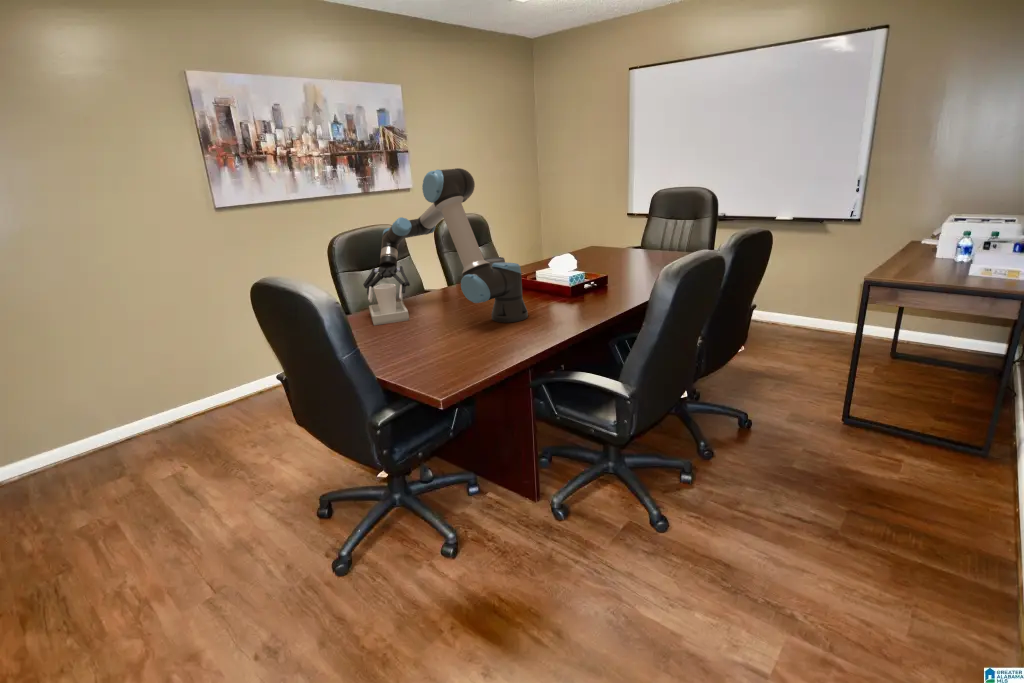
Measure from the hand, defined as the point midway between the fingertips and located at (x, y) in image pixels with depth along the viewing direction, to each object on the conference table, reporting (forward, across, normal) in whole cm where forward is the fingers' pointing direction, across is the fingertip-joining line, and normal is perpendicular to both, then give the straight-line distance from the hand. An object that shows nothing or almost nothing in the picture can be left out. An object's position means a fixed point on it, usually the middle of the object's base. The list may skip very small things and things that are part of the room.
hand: (385, 300), depth 230 cm
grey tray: (+4, 0, -7) cm, 8 cm away
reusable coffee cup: (-26, -45, -38) cm, 65 cm away
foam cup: (+4, 0, -7) cm, 8 cm away
